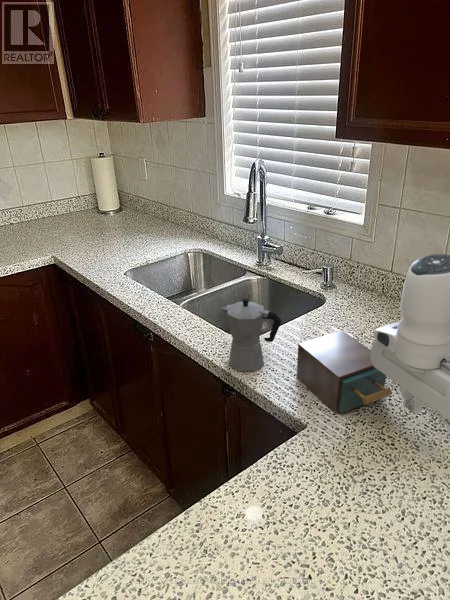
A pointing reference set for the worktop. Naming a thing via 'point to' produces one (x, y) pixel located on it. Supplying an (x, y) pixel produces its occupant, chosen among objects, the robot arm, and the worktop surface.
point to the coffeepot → (248, 333)
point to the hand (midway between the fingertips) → (412, 409)
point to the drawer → (362, 389)
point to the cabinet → (331, 364)
